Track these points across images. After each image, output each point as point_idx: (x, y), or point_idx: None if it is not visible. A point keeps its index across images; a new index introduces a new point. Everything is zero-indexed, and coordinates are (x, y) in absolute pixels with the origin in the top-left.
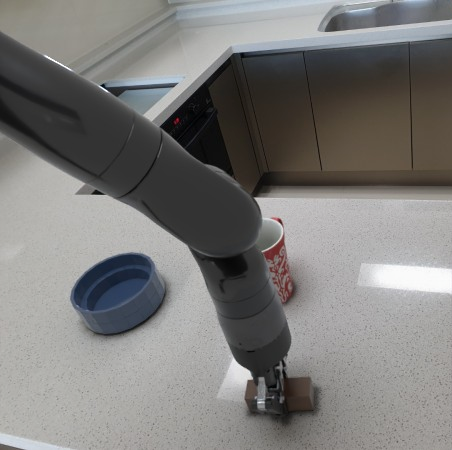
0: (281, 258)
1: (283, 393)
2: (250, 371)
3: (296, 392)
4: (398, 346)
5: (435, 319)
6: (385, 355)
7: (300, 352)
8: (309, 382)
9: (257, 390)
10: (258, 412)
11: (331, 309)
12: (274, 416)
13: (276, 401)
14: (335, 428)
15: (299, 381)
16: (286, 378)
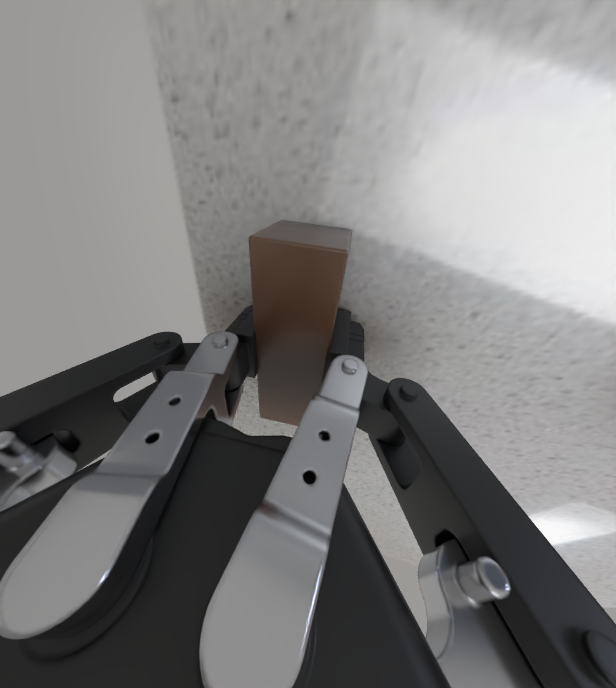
0: None
1: (268, 372)
2: (27, 549)
3: (270, 398)
4: (375, 488)
5: (403, 521)
6: (365, 474)
7: (447, 377)
8: (297, 425)
9: (166, 376)
10: (80, 364)
11: (546, 455)
12: (250, 306)
13: (112, 445)
14: (243, 395)
15: (304, 409)
16: (319, 385)
